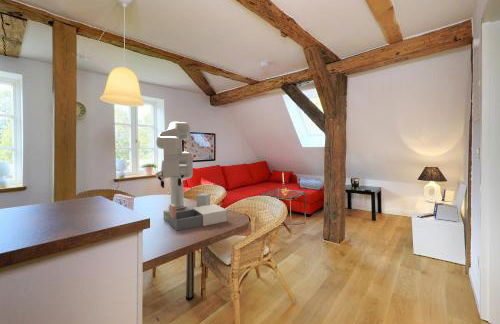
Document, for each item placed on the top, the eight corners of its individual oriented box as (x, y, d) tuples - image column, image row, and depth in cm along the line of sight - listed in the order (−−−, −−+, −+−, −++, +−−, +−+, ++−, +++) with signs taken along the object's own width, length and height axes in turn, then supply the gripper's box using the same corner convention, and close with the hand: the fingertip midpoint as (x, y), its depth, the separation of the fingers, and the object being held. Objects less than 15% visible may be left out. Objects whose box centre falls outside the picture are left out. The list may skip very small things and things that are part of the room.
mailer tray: (167, 222, 150) (167, 202, 149) (196, 217, 160) (195, 198, 159) (175, 230, 137) (175, 208, 136) (206, 224, 147) (206, 203, 146)
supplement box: (210, 210, 178) (210, 193, 176) (206, 213, 170) (205, 195, 169) (201, 209, 180) (201, 193, 178) (196, 212, 172) (196, 195, 171)
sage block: (163, 219, 158) (163, 210, 157) (171, 218, 161) (171, 209, 160) (165, 221, 154) (165, 212, 153) (173, 220, 156) (173, 210, 156)
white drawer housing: (192, 218, 160) (192, 207, 159) (214, 214, 169) (214, 204, 168) (203, 226, 145) (203, 214, 144) (227, 221, 154) (227, 210, 154)
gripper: (182, 157, 151) (183, 184, 152) (153, 158, 141) (154, 187, 142) (187, 157, 144) (187, 186, 146) (156, 158, 135) (157, 189, 136)
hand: (171, 186), depth 144 cm, fingers open, 9 cm apart
